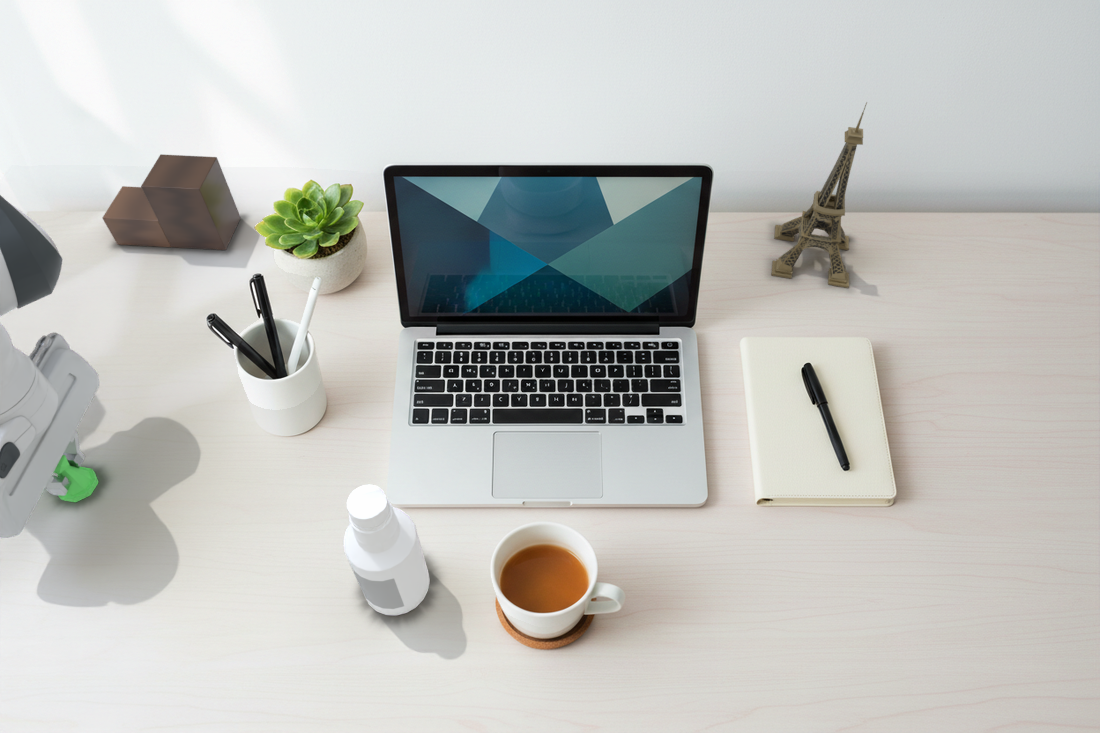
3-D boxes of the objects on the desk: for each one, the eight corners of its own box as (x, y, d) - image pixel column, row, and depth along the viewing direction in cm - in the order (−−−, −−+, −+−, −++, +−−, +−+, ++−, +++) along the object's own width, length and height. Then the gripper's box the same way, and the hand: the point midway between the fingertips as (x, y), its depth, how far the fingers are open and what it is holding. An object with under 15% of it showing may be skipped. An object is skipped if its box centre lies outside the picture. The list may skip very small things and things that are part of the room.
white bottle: (365, 557, 83) (328, 470, 69) (429, 551, 83) (406, 463, 69) (362, 620, 79) (323, 541, 65) (430, 613, 79) (406, 533, 65)
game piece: (95, 499, 87) (70, 471, 82) (54, 506, 87) (26, 478, 82) (101, 466, 90) (76, 437, 85) (61, 473, 89) (34, 444, 84)
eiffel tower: (847, 237, 115) (910, 83, 95) (848, 287, 108) (915, 134, 89) (775, 226, 116) (822, 72, 96) (771, 275, 110) (820, 121, 90)
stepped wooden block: (117, 244, 113) (81, 183, 104) (136, 212, 117) (103, 151, 108) (225, 250, 112) (199, 189, 103) (241, 217, 116) (216, 156, 108)
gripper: (21, 321, 82) (82, 398, 93) (-90, 493, 69) (-5, 559, 80) (80, 325, 82) (134, 401, 93) (-21, 498, 69) (55, 563, 80)
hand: (69, 476), depth 86 cm, fingers closed on game piece, 2 cm apart
